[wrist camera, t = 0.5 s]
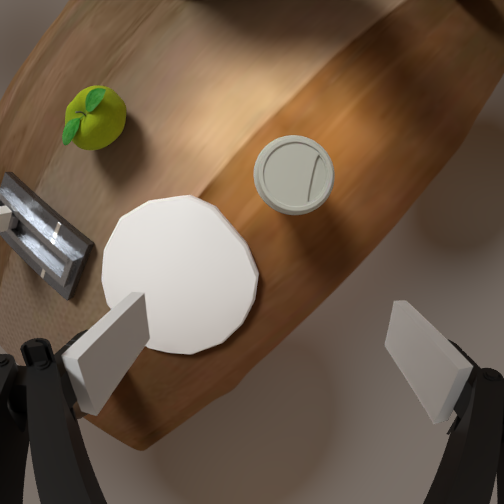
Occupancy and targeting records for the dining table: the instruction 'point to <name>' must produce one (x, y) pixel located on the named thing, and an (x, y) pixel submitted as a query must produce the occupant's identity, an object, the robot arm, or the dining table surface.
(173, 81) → the dining table surface
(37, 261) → the fader console
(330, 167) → the coffee cup
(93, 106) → the fruit
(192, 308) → the decorative plate
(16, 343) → the dining table surface
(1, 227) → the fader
